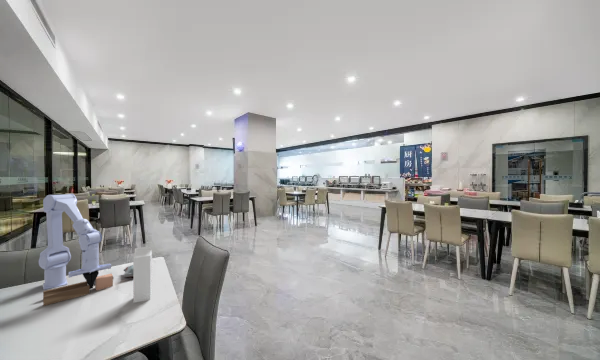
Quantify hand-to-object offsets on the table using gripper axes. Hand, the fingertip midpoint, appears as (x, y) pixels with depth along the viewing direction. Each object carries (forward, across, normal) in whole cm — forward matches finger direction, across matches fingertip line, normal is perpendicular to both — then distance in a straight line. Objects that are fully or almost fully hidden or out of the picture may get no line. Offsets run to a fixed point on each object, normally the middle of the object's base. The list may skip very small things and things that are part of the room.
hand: (90, 288), depth 109 cm
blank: (+1, +5, 0) cm, 5 cm away
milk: (+1, +14, -26) cm, 30 cm away
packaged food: (+3, +16, +8) cm, 19 cm away
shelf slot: (+1, -8, 0) cm, 8 cm away
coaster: (+1, +5, +9) cm, 10 cm away
